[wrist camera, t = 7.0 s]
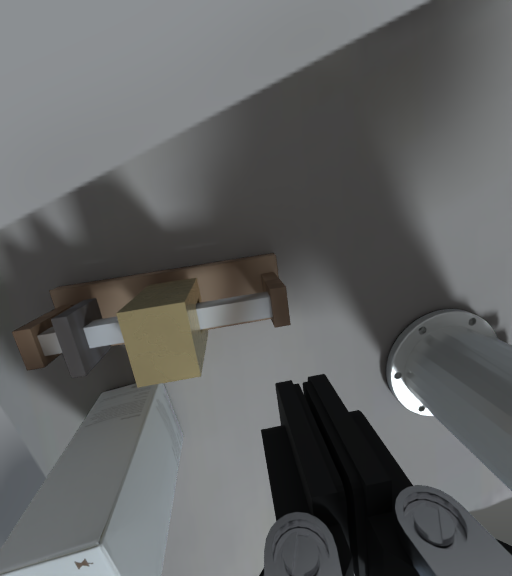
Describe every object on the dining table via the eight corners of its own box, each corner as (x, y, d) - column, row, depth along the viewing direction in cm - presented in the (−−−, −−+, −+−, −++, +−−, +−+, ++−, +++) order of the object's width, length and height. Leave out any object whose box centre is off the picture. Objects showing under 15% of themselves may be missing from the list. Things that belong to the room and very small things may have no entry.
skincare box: (102, 389, 29) (-34, 577, 14) (165, 373, 29) (99, 540, 14) (130, 454, 31) (38, 677, 16) (189, 438, 31) (153, 643, 16)
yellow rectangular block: (196, 277, 24) (184, 302, 17) (208, 332, 25) (200, 376, 18) (148, 285, 23) (115, 313, 17) (162, 340, 25) (137, 387, 18)
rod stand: (273, 253, 27) (291, 268, 19) (280, 311, 29) (301, 347, 21) (59, 286, 26) (-15, 317, 18) (78, 345, 28) (18, 398, 20)
